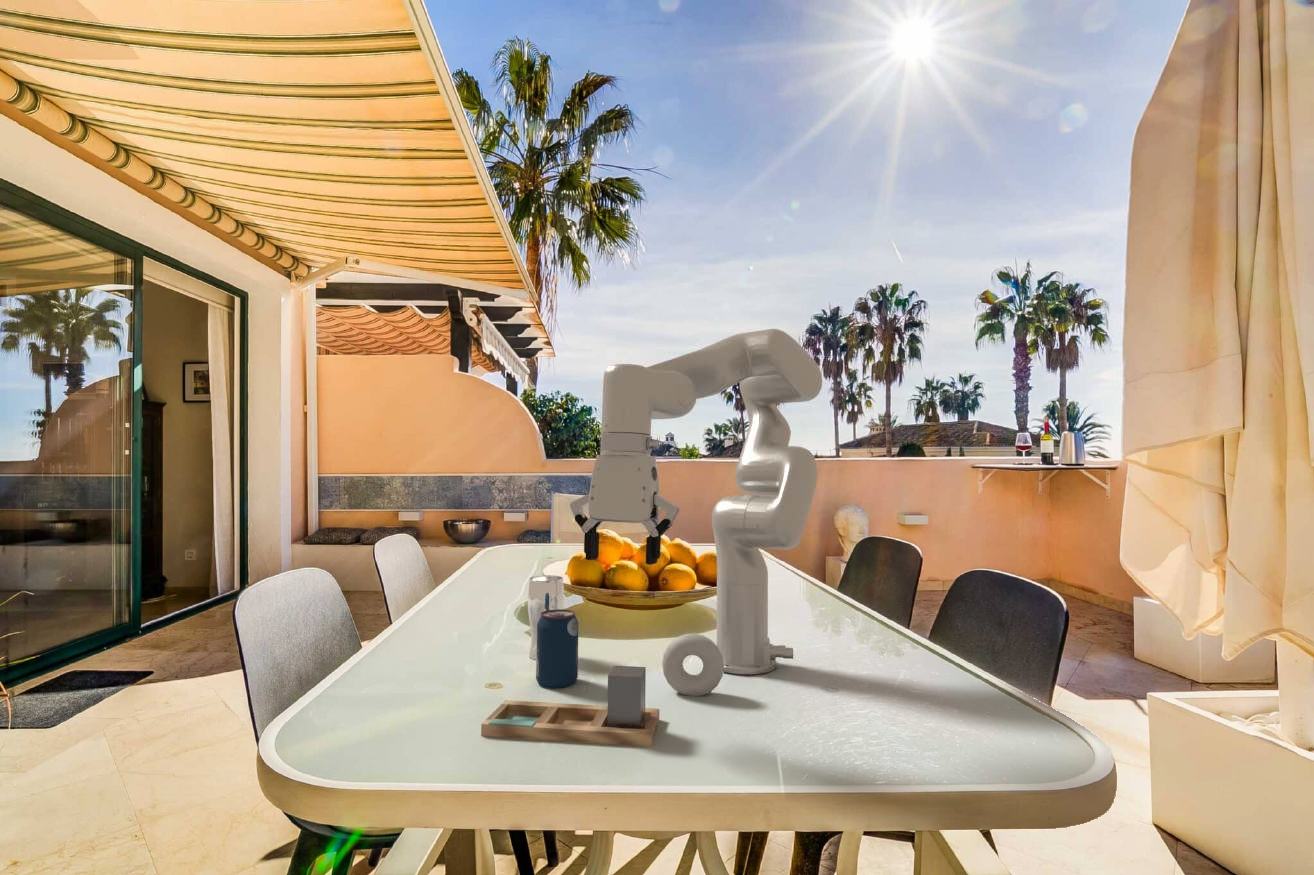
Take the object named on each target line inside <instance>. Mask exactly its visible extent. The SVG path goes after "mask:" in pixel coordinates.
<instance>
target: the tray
mask: <svg viewBox="0 0 1314 875" xmlns="http://www.w3.org/2000/svg"><path fill="white" fill-rule="evenodd" d="M607 710H608V705H598V704H596V705H593V704H583V703H582V704H580V703H579V704H578V703H564V702H563V703H562V702H561V703H560V702H542V701H541V702H540V701H529V700H528V701H526V700H525V701H524V700H523V701H522V700H509V699H507V700H504V701H503V702H502V703H501V704H500V705H499V706H498V707H497V708H496V709H495V710H493V711H492V713H491V714H490V715H489V716H488V717H486V719H485V720H484V721H482V722H481V724H480V725H481V727H480V736H481V737H491V738H492V737H494V738H508V739H509V738H510V739H525V740H541V741H555V742H556V741H557V742H570V743H571V742H572V743H587V744H604V745H605V744H606V745H618V746H619V745H620V746H632V747H633V746H635V747H636V746H638V747H650V748H651V747H652V746H653V742H654V738H655V736H656V732H657V729H658V725H659V722H660V710H661V709H660V708H654V707H653V708H650V707H649V708H648V707H645V727H644V729H631V728H614V727H607Z"/></svg>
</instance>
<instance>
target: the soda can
mask: <svg viewBox="0 0 1314 875" xmlns="http://www.w3.org/2000/svg"><path fill="white" fill-rule="evenodd" d="M535 661H536V662H535V664H536V666H535V669H536V670H535V672H536V674H535V679H536V681H537V683H538V685H539V686H540V687H543V688H545V689H564V688H569V687H571V686H573V685H575V683H576V681H577V679H578V678H579V677H578V676H579V621H578V619H577V616H576V612H575V611H574V610H571V609H564V608H563V609H556V610H548V611H544V612H542V613H541V617H540V619H539V621H538V623H537V657H536V660H535Z"/></svg>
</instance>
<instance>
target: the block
mask: <svg viewBox="0 0 1314 875" xmlns="http://www.w3.org/2000/svg"><path fill="white" fill-rule="evenodd" d="M646 671H647V670H646V666H635V665H633V666H632V665H631V666H630V665H613V667H612V669H611V670H610V672H609V673H608V675H607V706H608V710H607V727H614V728H631V729H644V727H645V708H646V679H647V678H646V677H647V676H646V675H647V674H646V673H647V672H646Z"/></svg>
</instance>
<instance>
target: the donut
mask: <svg viewBox="0 0 1314 875" xmlns="http://www.w3.org/2000/svg"><path fill="white" fill-rule="evenodd" d="M662 656H663V657H662V662H661V665H662V671H663V676H664V677H665V680H666V682H667V684H668V685H669V686H670V687H671V688H672V689H673V690H674V691H675V692H677V693H679V694H680V695H683V696H689V697H702V696H705V695H707V694H710V693H712V692H713V691H714V689H716V688H717V687H718V686H719V684H720V682H721V680H722V678H723V675H724V672H723V670H724V662H723V656H722V654H721V652H720V650H719V648H718V647H717V644H716V643H715V641H713V640H712V639H710V638H709V637H707V636H705V635H703V634H700V633H695V632H694V633H685V634H682V635H680V636H678V637H676V638H674V639H673V640H672V641H671V642H670V643H669V644H668V645H667V647H666V649H665V651H664V652H663V655H662ZM689 656H696V657H697V658H699V659H700V660H701V661H702V665H703V666H702V670H701V671H700V672H699V673H697V674H690V673H689V672H687V671H686V670H685V668H684V665H683V664H684V661H685V659H686V657H689Z"/></svg>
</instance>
